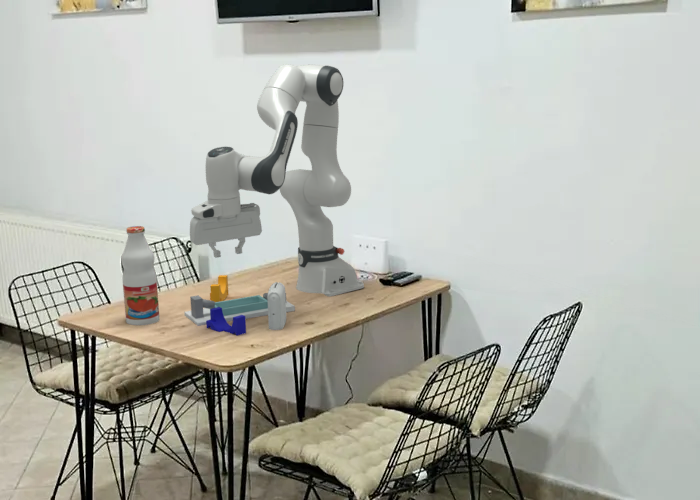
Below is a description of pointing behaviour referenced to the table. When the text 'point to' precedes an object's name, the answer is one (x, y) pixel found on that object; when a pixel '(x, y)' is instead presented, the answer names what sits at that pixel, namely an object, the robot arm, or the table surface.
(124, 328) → the table surface
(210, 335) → the table surface
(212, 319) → the blue curved cradle
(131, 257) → the fruit juice
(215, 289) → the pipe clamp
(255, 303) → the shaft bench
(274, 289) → the photo printer
